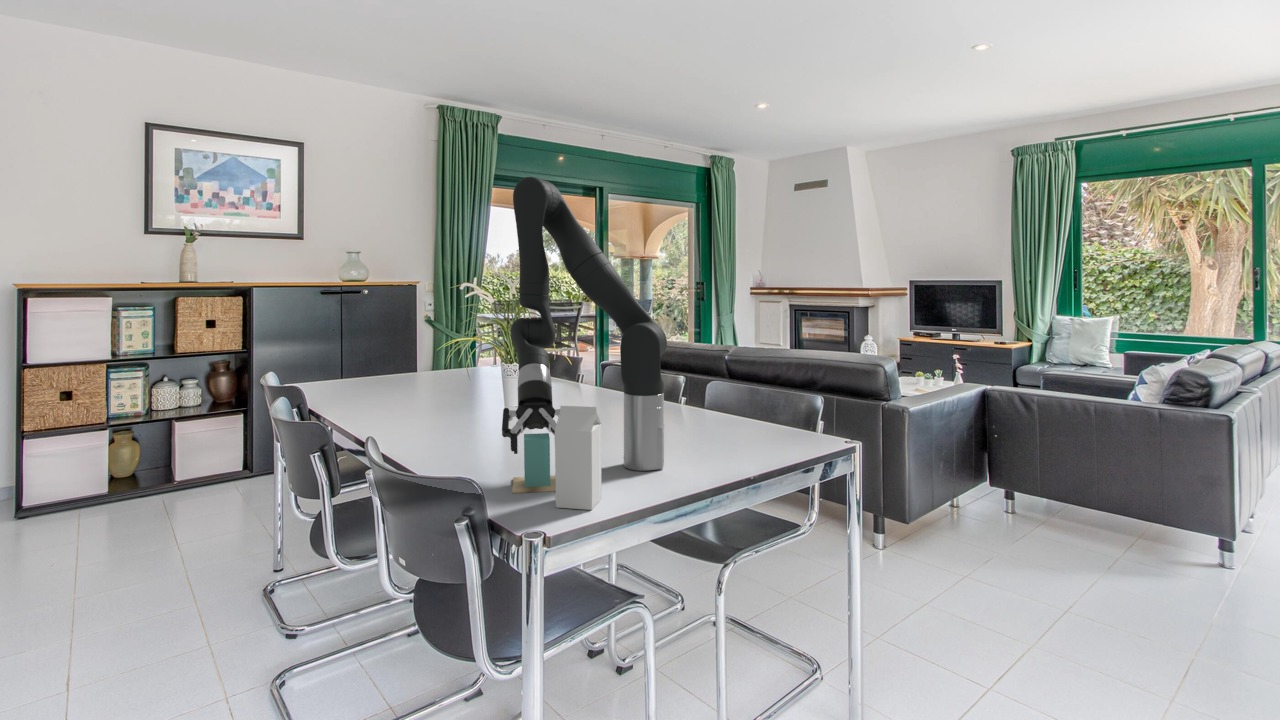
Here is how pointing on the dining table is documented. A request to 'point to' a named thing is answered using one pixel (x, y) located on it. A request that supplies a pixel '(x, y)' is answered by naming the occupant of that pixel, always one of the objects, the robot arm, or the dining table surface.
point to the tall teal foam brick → (537, 459)
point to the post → (520, 487)
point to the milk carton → (578, 457)
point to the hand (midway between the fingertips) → (536, 451)
